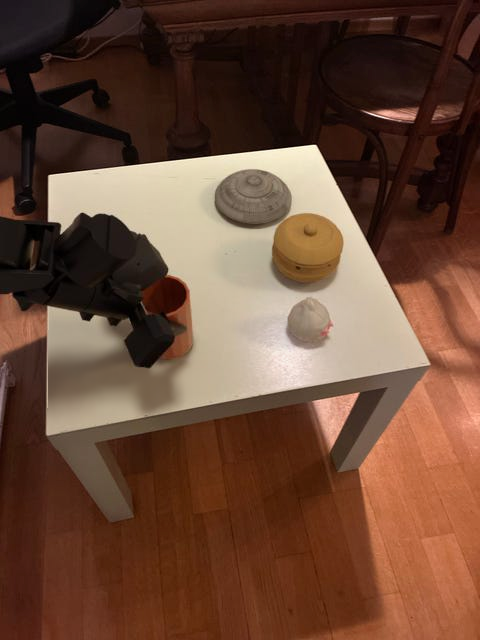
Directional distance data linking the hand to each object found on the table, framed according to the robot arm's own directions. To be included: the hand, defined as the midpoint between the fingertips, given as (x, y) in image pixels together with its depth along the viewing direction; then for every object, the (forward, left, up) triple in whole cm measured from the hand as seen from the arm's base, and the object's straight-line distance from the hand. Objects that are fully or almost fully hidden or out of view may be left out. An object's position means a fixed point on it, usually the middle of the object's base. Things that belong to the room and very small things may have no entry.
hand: (174, 310), depth 70 cm
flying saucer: (+14, +32, -8) cm, 36 cm away
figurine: (+21, +1, -8) cm, 22 cm away
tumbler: (-1, -1, -7) cm, 7 cm away
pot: (+22, +15, -8) cm, 27 cm away
